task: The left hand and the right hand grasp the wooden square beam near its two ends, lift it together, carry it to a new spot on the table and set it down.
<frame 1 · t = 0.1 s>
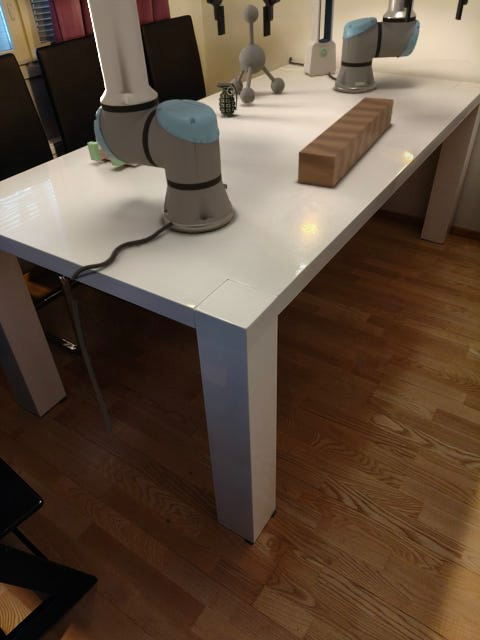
left hand: (243, 35, 129), 28 cm above the table, tool pointing down, fingers open, 13 cm apart
right hand: (432, 20, 134), 28 cm above the table, tool pointing down, fingers open, 13 cm apart
electronic device: (319, 73, 215), on the table
molecular model: (258, 96, 188), on the table
decorative block: (138, 153, 143), on the table
wooden square beam: (349, 150, 137), on the table
grenade: (228, 115, 169), on the table
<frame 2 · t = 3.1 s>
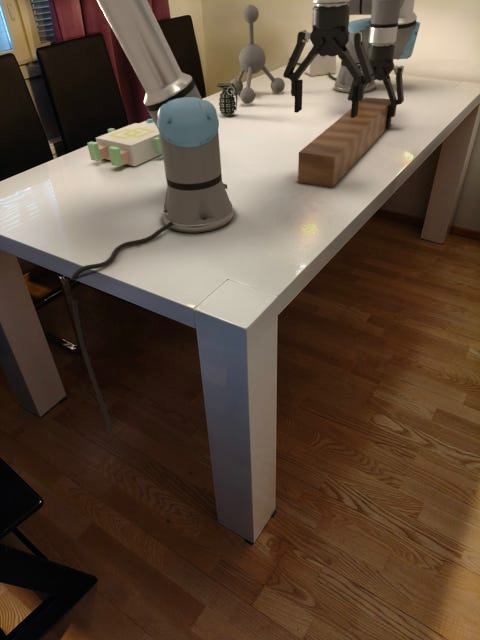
left hand: (325, 113, 112), 15 cm above the table, tool pointing down, fingers open, 13 cm apart
right hand: (372, 126, 151), 0 cm above the table, tool pointing down, fingers closed on wooden square beam, 9 cm apart
wooden square beam: (349, 150, 137), on the table, touching right hand
everything else where it was.
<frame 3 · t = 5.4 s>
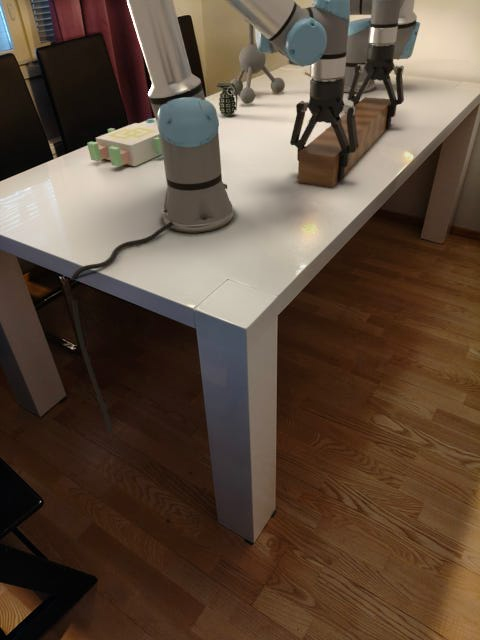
left hand: (321, 176, 121), 0 cm above the table, tool pointing down, fingers closed on wooden square beam, 9 cm apart
right hand: (372, 126, 151), 0 cm above the table, tool pointing down, fingers closed on wooden square beam, 9 cm apart
wooden square beam: (349, 150, 137), on the table, touching left hand, right hand
everything else where it was.
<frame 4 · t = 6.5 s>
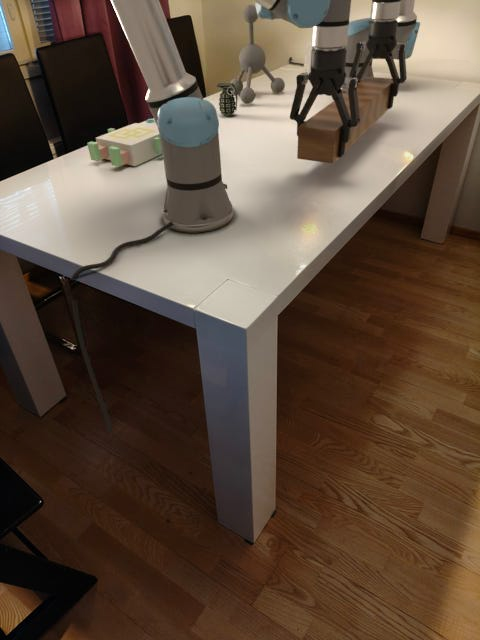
left hand: (321, 152, 118), 6 cm above the table, tool pointing down, fingers closed on wooden square beam, 9 cm apart
right hand: (374, 106, 148), 6 cm above the table, tool pointing down, fingers closed on wooden square beam, 9 cm apart
wooden square beam: (350, 128, 133), point 6 cm above the table, touching left hand, right hand
everything else where it was.
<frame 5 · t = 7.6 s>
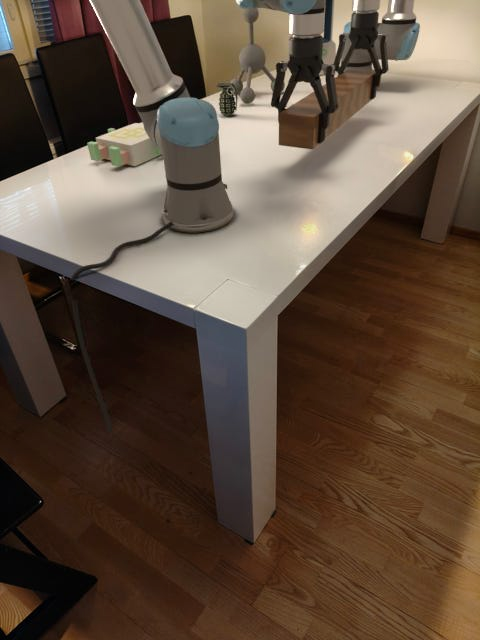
left hand: (302, 139, 121), 8 cm above the table, tool pointing down, fingers closed on wooden square beam, 9 cm apart
right hand: (357, 96, 151), 8 cm above the table, tool pointing down, fingers closed on wooden square beam, 9 cm apart
wooden square beam: (333, 117, 136), point 8 cm above the table, touching left hand, right hand
everything else where it was.
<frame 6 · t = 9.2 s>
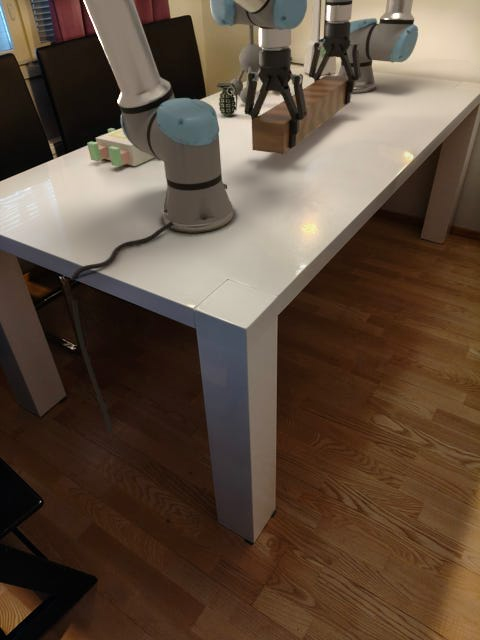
left hand: (275, 144, 128), 5 cm above the table, tool pointing down, fingers closed on wooden square beam, 9 cm apart
right hand: (332, 102, 158), 5 cm above the table, tool pointing down, fingers closed on wooden square beam, 9 cm apart
wooden square beam: (307, 123, 143), point 5 cm above the table, touching left hand, right hand
everything else where it was.
when the left hand's fingers open (2 cm above the table, at t = 10.2 s): wooden square beam drops 1 cm, on the table.
when the right hand's fingers open (2 cm above the table, at t = 10.2 s): wooden square beam drops 1 cm, on the table.
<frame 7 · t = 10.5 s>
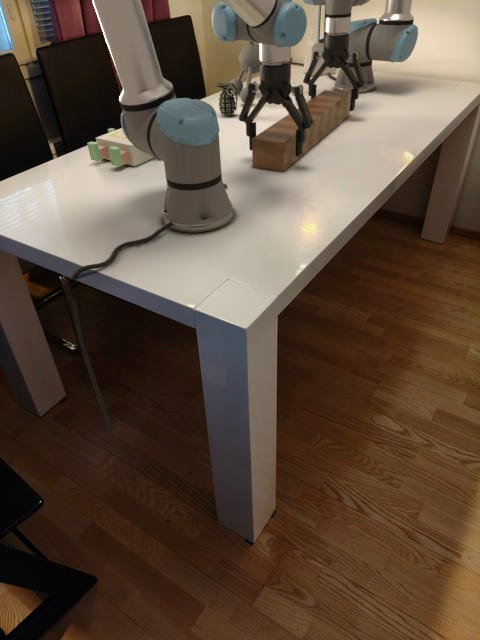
left hand: (275, 151, 129), 3 cm above the table, tool pointing down, fingers open, 13 cm apart
right hand: (332, 108, 159), 3 cm above the table, tool pointing down, fingers open, 13 cm apart
wooden square beam: (306, 138, 146), on the table
everything else where it was.
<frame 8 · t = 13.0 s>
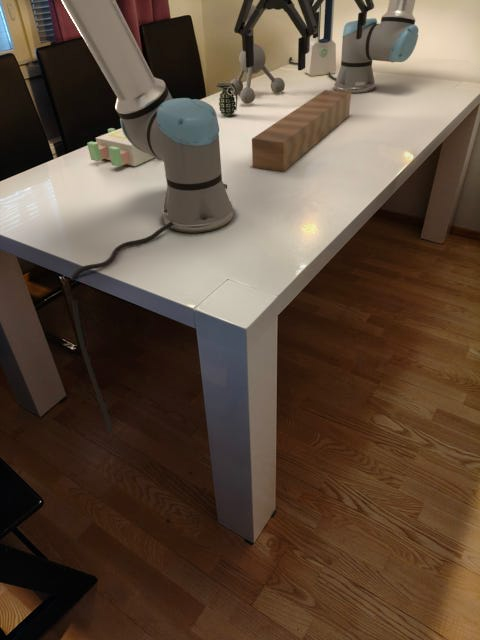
left hand: (275, 68, 117), 23 cm above the table, tool pointing down, fingers open, 13 cm apart
right hand: (336, 38, 147), 23 cm above the table, tool pointing down, fingers open, 13 cm apart
nothing on the table moved.
at the end: wooden square beam inside the target area (0.1 cm from its centre), on the table; wooden square beam tilted 0°; wooden square beam never tilted more than 1° during the clip; both hands held the wooden square beam at the same time; the left hand is holding nothing; the right hand is holding nothing; wooden square beam at rest at the end (0.0 cm/s) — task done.
